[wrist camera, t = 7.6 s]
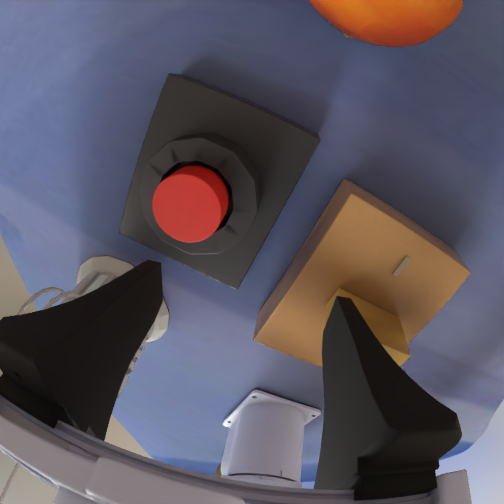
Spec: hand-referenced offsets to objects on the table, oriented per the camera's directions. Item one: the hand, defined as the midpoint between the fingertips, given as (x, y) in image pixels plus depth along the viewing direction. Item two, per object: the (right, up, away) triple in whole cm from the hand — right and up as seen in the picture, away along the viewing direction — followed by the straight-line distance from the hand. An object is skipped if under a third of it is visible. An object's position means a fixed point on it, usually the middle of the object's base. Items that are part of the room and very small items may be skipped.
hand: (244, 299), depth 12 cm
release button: (-3, +5, +4) cm, 7 cm away
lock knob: (+7, -2, +6) cm, 10 cm away
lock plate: (+8, 0, +9) cm, 12 cm away
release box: (-2, +6, +6) cm, 9 cm away
